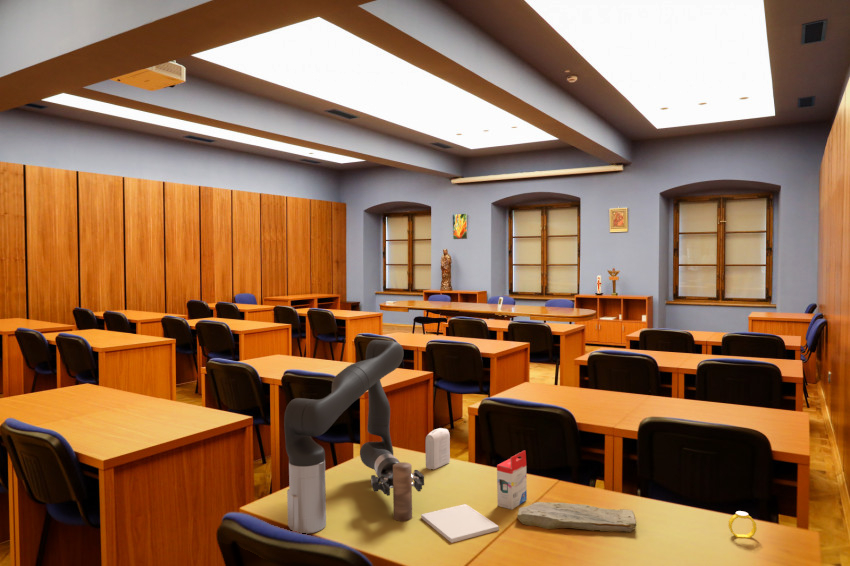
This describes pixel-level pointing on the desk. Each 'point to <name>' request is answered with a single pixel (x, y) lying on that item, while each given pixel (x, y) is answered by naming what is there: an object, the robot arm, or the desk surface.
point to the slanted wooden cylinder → (402, 491)
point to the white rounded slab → (437, 448)
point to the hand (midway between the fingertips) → (404, 490)
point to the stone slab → (576, 517)
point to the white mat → (459, 523)
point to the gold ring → (742, 515)
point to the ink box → (512, 481)
